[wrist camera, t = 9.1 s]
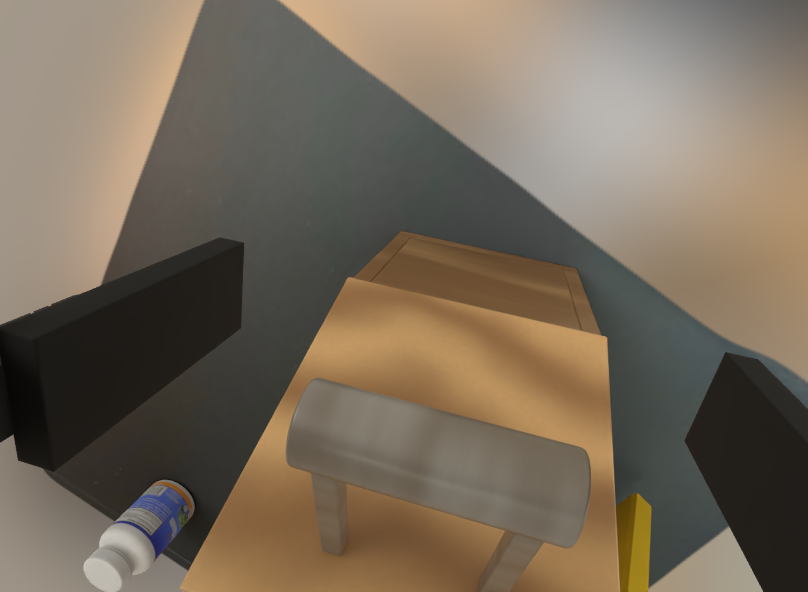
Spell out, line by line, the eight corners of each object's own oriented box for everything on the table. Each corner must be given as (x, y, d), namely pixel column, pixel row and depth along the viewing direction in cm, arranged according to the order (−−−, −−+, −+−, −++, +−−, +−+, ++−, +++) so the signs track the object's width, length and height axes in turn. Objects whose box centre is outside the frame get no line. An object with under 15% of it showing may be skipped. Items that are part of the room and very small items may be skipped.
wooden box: (527, 427, 40) (530, 545, 29) (375, 387, 42) (324, 484, 31) (576, 268, 35) (603, 338, 24) (401, 230, 37) (351, 279, 26)
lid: (617, 748, 13) (841, 699, 7) (184, 596, 15) (65, 455, 9) (601, 347, 24) (686, 188, 18) (348, 287, 25) (345, 125, 19)
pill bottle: (189, 526, 53) (123, 609, 44) (146, 502, 53) (72, 580, 44) (202, 493, 51) (134, 573, 42) (157, 469, 51) (80, 543, 42)
